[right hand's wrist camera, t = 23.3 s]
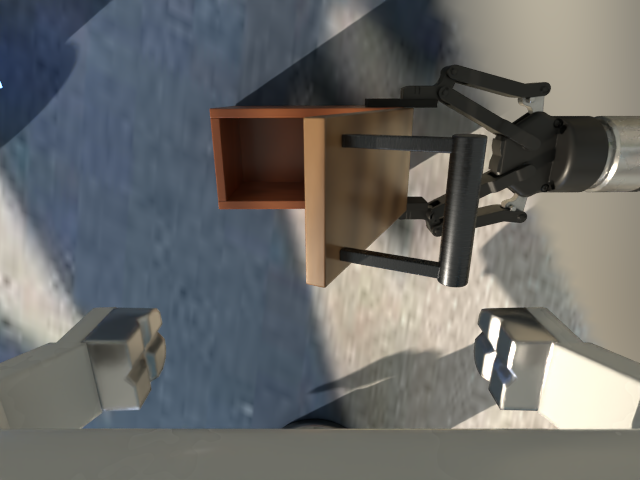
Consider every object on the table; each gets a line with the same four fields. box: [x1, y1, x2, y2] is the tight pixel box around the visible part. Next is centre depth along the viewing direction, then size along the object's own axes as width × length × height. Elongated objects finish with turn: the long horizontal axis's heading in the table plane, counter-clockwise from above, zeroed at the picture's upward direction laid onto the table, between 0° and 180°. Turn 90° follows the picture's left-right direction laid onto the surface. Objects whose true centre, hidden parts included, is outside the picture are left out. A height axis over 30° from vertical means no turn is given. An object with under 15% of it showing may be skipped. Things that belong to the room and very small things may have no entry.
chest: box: [210, 105, 403, 209], centre depth 42 cm, size 18×9×10 cm, turn 90°
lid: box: [304, 108, 487, 288], centre depth 27 cm, size 18×9×9 cm
